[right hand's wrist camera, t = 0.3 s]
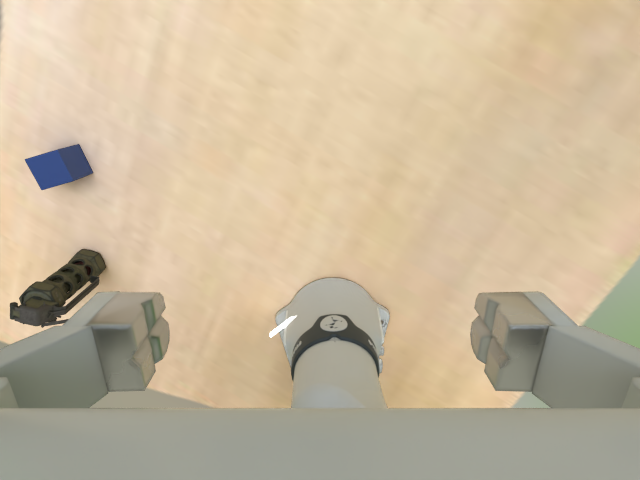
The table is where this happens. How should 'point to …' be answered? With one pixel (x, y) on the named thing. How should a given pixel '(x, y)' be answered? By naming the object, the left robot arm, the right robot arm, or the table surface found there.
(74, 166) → the brick
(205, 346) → the table surface
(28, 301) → the grenade
